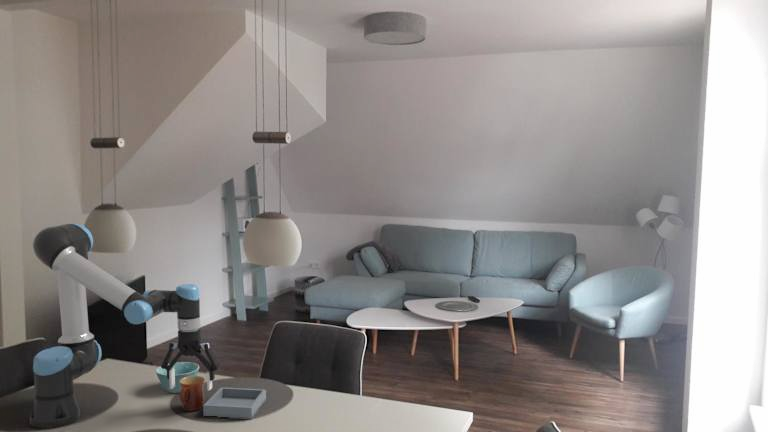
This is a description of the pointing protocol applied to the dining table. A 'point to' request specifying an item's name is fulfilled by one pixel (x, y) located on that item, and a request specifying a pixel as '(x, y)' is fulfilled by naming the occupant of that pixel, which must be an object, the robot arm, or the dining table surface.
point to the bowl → (177, 375)
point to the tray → (235, 403)
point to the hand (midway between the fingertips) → (191, 388)
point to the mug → (192, 392)
